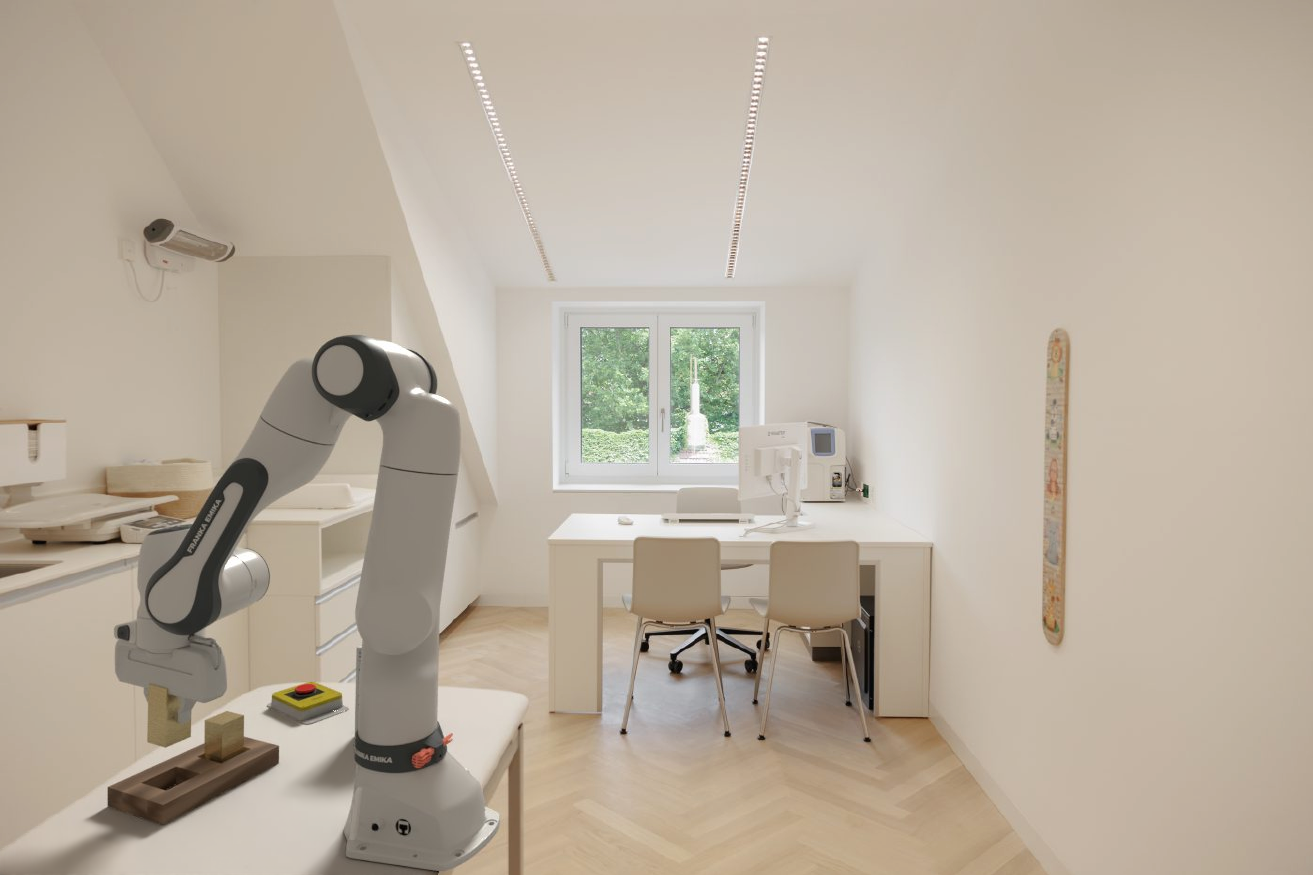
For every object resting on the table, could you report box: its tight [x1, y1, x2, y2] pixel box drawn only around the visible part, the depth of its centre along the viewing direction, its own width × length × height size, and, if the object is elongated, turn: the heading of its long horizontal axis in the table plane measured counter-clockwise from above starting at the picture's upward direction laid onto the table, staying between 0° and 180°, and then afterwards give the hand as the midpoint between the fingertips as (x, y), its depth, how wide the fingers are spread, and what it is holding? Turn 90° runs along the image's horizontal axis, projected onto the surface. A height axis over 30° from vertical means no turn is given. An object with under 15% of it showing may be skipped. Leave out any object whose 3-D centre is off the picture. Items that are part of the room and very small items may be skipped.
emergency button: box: [266, 681, 350, 725], centre depth 145 cm, size 9×4×15 cm
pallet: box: [107, 736, 280, 826], centre depth 116 cm, size 12×20×3 cm, turn 159°
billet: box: [146, 684, 192, 749], centre depth 111 cm, size 4×4×9 cm
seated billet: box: [203, 710, 245, 763], centre depth 120 cm, size 4×4×9 cm
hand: (170, 718), depth 111 cm, fingers closed on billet, 4 cm apart
